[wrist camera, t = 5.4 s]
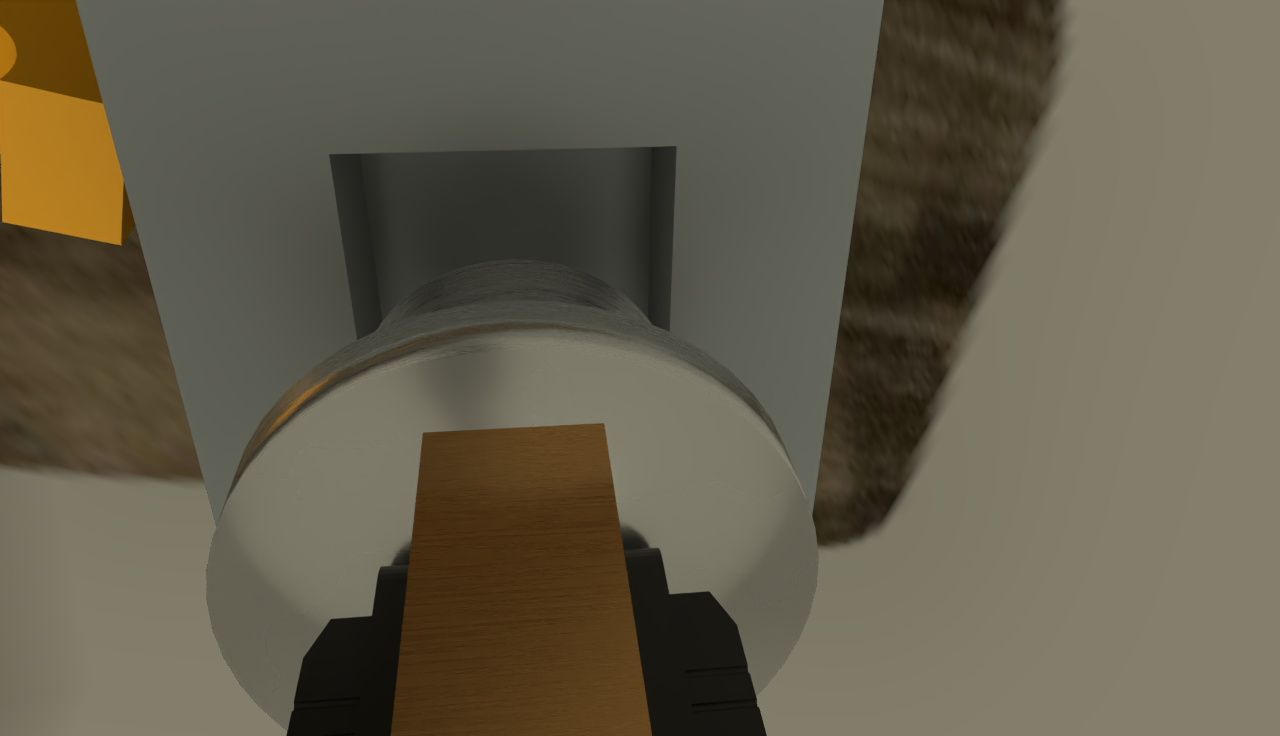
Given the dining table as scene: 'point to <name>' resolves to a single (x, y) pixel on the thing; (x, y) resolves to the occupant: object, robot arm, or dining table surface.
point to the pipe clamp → (56, 128)
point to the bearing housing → (486, 176)
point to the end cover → (509, 506)
